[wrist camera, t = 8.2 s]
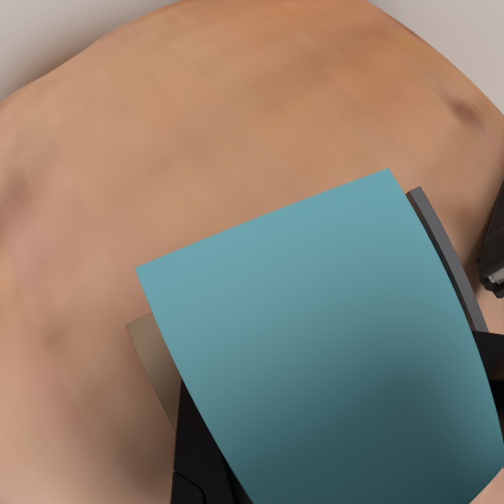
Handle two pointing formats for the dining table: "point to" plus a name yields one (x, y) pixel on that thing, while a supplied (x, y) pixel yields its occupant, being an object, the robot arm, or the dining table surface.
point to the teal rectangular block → (331, 353)
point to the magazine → (494, 251)
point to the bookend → (447, 258)
